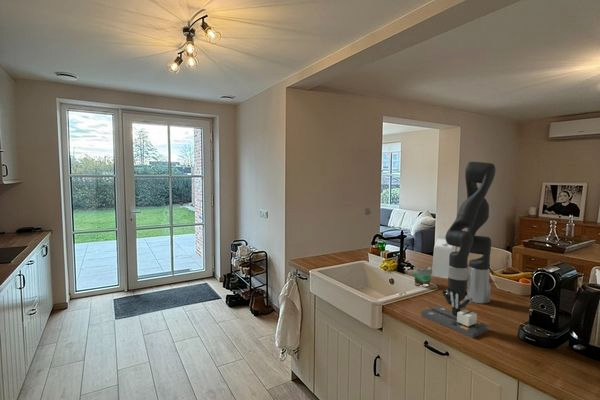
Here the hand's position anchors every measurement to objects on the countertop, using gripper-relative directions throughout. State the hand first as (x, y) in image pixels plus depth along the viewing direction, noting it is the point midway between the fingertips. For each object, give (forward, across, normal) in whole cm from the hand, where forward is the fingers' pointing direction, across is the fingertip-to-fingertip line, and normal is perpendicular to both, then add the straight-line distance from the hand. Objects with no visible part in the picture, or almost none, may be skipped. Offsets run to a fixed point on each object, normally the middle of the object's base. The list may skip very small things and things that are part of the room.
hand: (456, 315), depth 138 cm
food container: (+4, -38, +29) cm, 48 cm away
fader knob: (+1, +5, 0) cm, 5 cm away
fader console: (+4, -1, 0) cm, 4 cm away
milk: (+4, -44, +56) cm, 71 cm away
